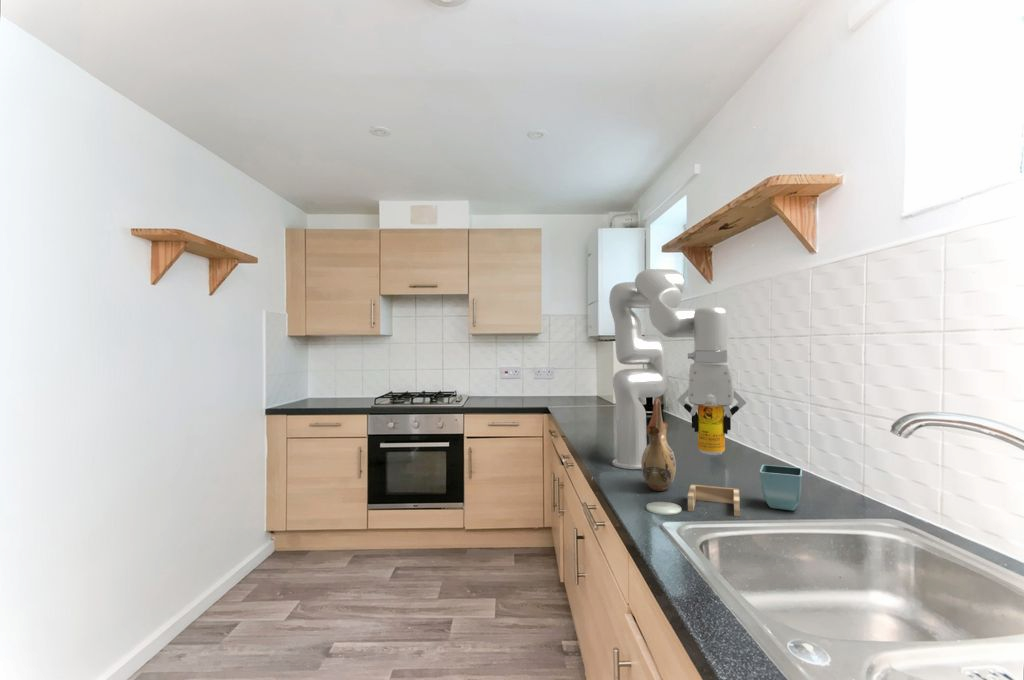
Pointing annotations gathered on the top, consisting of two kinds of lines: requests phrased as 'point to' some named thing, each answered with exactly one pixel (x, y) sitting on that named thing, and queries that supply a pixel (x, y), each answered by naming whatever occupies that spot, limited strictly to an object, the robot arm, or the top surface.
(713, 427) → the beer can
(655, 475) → the ceramic vessel
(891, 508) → the top surface
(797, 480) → the flower pot
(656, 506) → the coaster
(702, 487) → the cradle
